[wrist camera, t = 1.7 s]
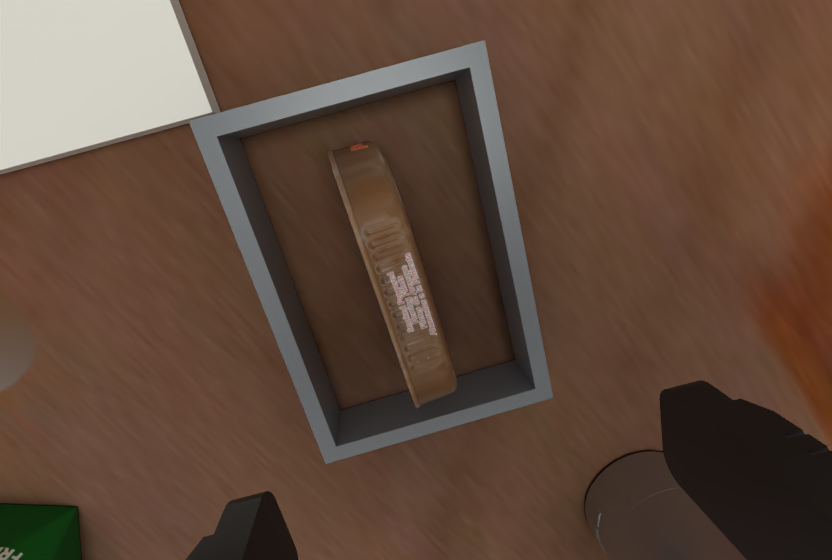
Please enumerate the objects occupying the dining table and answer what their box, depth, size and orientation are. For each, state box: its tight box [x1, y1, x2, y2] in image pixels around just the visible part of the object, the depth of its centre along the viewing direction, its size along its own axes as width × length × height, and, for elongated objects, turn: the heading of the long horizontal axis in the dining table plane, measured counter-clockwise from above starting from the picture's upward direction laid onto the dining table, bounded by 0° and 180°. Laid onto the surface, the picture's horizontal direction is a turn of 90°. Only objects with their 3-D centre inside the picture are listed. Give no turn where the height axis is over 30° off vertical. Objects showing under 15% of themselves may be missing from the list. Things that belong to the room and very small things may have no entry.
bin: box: [189, 40, 553, 464], centre depth 26 cm, size 15×21×4 cm
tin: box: [328, 141, 457, 408], centre depth 24 cm, size 15×3×8 cm, turn 17°
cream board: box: [0, 0, 220, 175], centre depth 22 cm, size 18×10×2 cm, turn 105°
